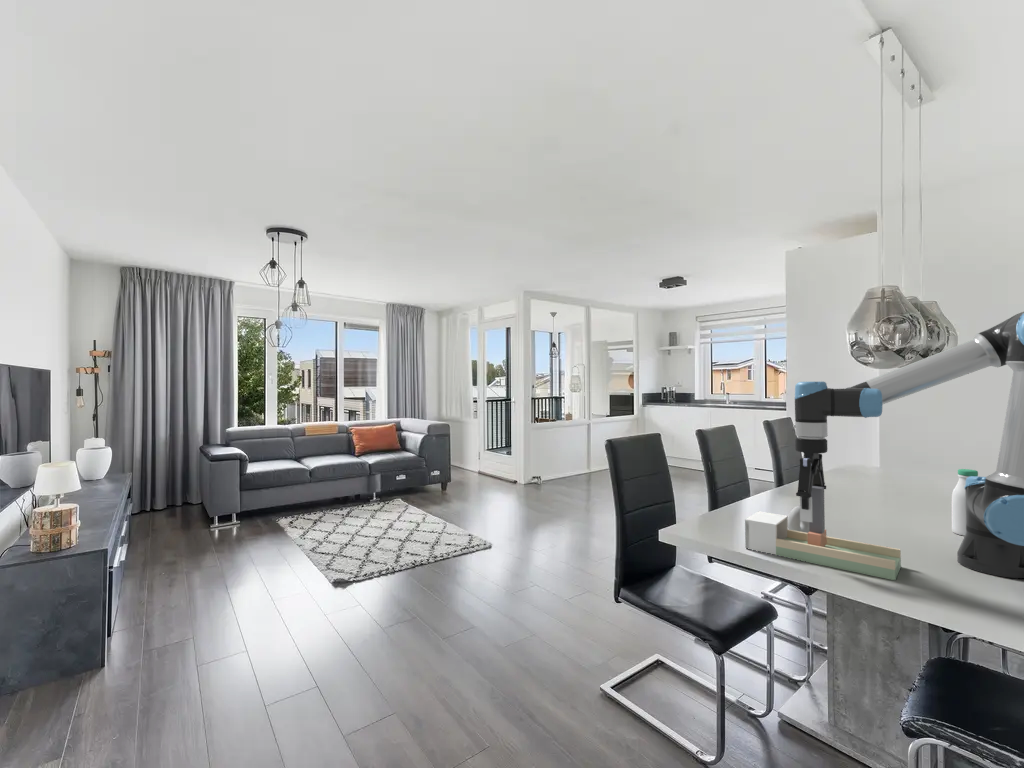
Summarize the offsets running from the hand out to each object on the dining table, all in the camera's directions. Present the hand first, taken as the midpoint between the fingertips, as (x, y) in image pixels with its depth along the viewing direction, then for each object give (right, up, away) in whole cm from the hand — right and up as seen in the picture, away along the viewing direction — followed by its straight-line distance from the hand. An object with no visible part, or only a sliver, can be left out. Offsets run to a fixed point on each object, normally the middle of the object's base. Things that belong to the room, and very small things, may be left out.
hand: (812, 516), depth 134 cm
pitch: (+1, -11, -1) cm, 11 cm away
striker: (+1, -8, -1) cm, 8 cm away
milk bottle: (+59, -11, +18) cm, 63 cm away
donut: (+6, -11, +15) cm, 20 cm away
